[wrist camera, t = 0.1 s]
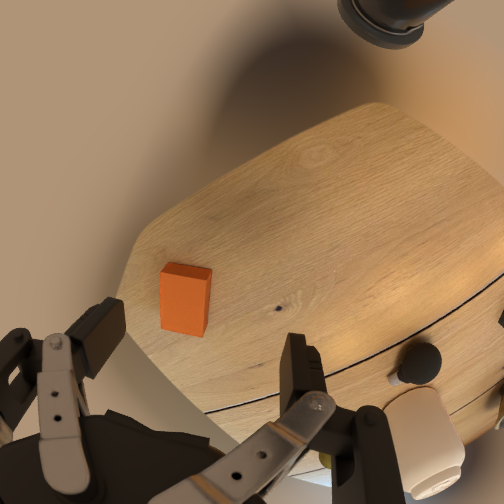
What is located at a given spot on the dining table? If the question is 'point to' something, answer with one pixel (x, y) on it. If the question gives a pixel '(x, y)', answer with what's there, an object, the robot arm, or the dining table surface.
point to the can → (424, 442)
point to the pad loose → (184, 299)
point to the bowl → (500, 412)
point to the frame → (502, 320)
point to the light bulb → (418, 365)
